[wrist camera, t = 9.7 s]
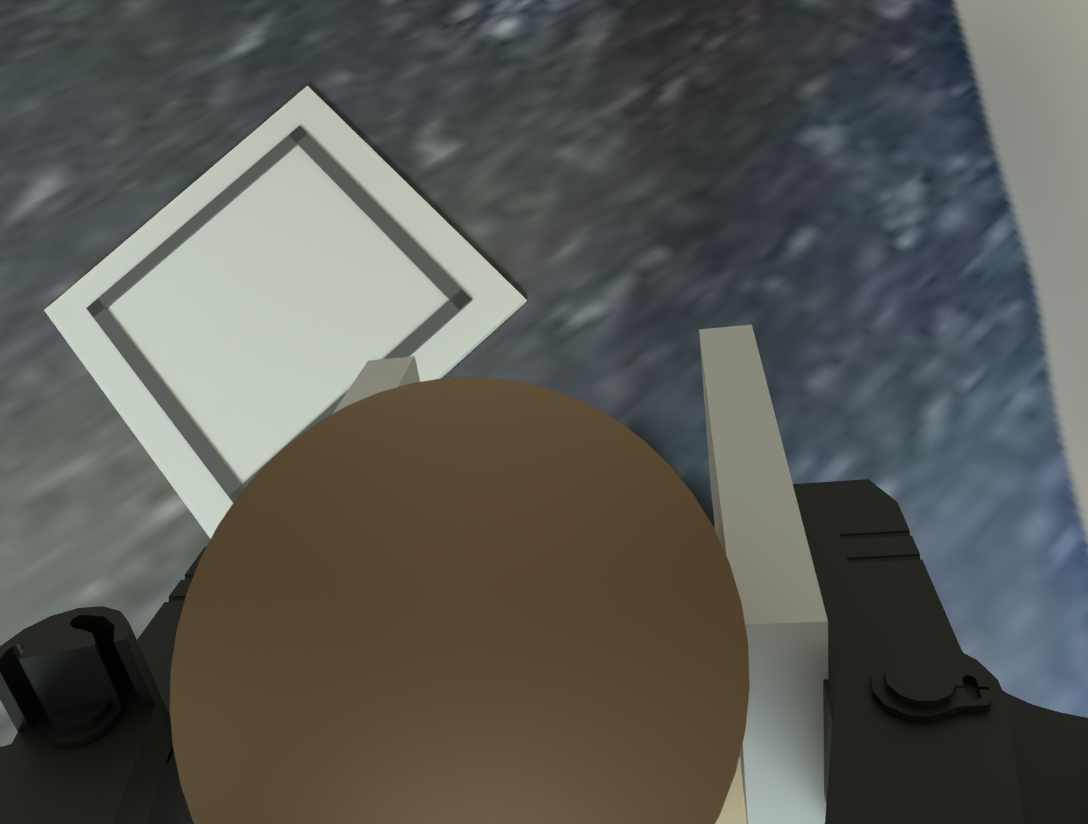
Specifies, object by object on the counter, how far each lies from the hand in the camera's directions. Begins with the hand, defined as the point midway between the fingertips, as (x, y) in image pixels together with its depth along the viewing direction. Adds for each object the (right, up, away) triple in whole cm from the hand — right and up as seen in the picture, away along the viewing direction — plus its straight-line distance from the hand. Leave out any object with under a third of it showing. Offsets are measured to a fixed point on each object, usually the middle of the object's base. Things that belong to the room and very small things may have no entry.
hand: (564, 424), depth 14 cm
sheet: (-11, +4, +21) cm, 24 cm away
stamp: (+1, -5, +3) cm, 6 cm away
